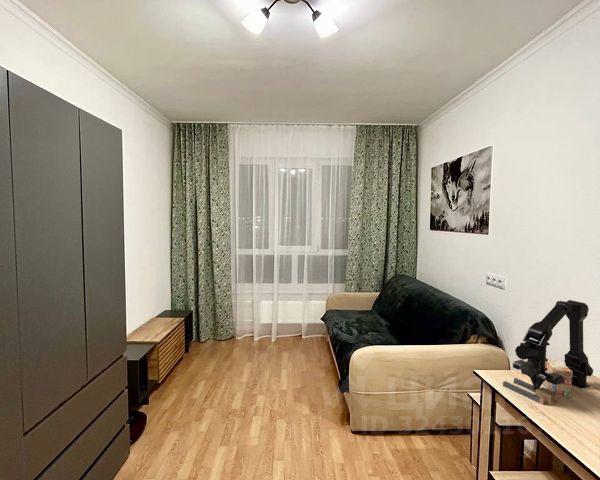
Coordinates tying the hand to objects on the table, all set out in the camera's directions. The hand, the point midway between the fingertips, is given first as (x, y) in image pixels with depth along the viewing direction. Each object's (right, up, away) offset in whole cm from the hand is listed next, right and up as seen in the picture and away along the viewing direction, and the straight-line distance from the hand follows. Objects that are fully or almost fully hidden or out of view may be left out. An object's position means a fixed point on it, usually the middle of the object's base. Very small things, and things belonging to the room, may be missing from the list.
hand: (536, 390), depth 155 cm
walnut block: (+2, -3, -3) cm, 5 cm away
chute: (-1, -2, +3) cm, 4 cm away
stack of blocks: (+13, -2, +9) cm, 16 cm away
